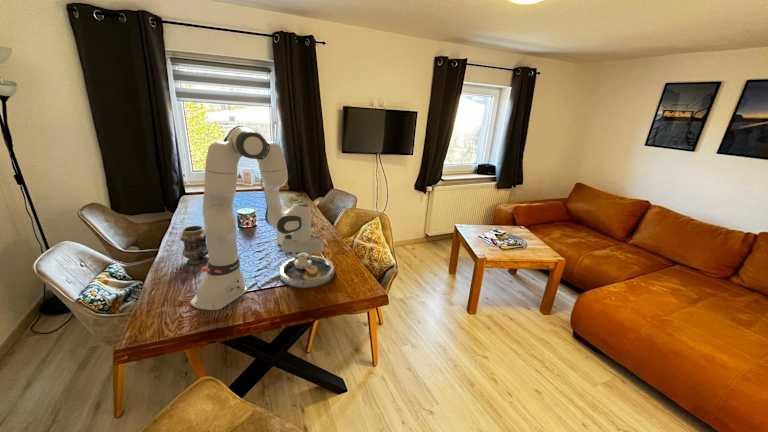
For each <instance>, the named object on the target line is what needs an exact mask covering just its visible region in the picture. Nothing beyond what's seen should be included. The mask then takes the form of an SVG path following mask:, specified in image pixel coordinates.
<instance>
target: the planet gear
mask: <svg viewBox="0 0 768 432" xmlns="http://www.w3.org/2000/svg"><path fill="white" fill-rule="evenodd" d="M297 255H298V256H297V257H298V260H295V262H294V266H295V267H296V268H298V269H299V268H300V269H302V268H303V269H305V266H306V264H309V266H310V265H311V260H307V257H308V256H309V253H302V252H298V254H297Z"/></svg>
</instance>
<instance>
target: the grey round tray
mask: <svg viewBox="0 0 768 432" xmlns="http://www.w3.org/2000/svg"><path fill="white" fill-rule="evenodd" d="M294 262H295V257H293V258H290V259H287V260H286V261H285V262H283V264H282V265H281V266H280V267H279V270H280V271H279V278H280V281H281V282H282V283H283V284H284V285H286V286H287V287H288V286H289V287H291V288H296V289H312V288H317V287H320V286H323V285H326V284H327V283H329V282H330V281H331V280H332V279H333V278H334V276H335V275H334V274H335V266H334V264H333V261H331V260H330V259H328V258H326V257H324V256H319V255H317V256H316V255H312V256H311V265H310V266H309V264H306V266H305V269H303V268H302V269H300V268H299V269H298V268H296V267H295V266H294Z"/></svg>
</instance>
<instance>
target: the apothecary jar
mask: <svg viewBox="0 0 768 432" xmlns="http://www.w3.org/2000/svg"><path fill="white" fill-rule="evenodd" d="M179 240H180V241H181V242H183V245H184V248H183V250H182V251H181V254H182V256H183V257H184V258H186V259H188V260H187V261H186V265H188V266H190V267H191V266H193V267H194V266H201V265H204V264H206V263H208V262H209V256H208V249H207V241H206V233H205V228H204V227H203V226H202V225H190V226H186V227H184V228H183V229H182V233H181V234H180V236H179Z"/></svg>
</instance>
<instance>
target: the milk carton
mask: <svg viewBox="0 0 768 432" xmlns="http://www.w3.org/2000/svg"><path fill="white" fill-rule="evenodd" d="M275 231H276V244H278V245H280V246H281V244H282V240H283V235H284V234H283V233H281V232H279V231H278V230H276V229H275Z"/></svg>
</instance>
